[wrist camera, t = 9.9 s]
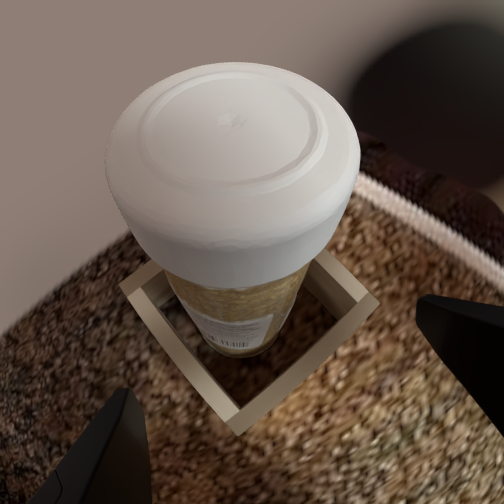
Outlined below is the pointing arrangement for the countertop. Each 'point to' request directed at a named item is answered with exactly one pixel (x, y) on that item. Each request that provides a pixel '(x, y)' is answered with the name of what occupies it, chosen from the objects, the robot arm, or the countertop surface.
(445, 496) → the countertop surface
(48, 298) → the countertop surface
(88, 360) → the countertop surface
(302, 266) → the sprinkles bottle
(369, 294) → the guard collar
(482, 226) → the countertop surface
